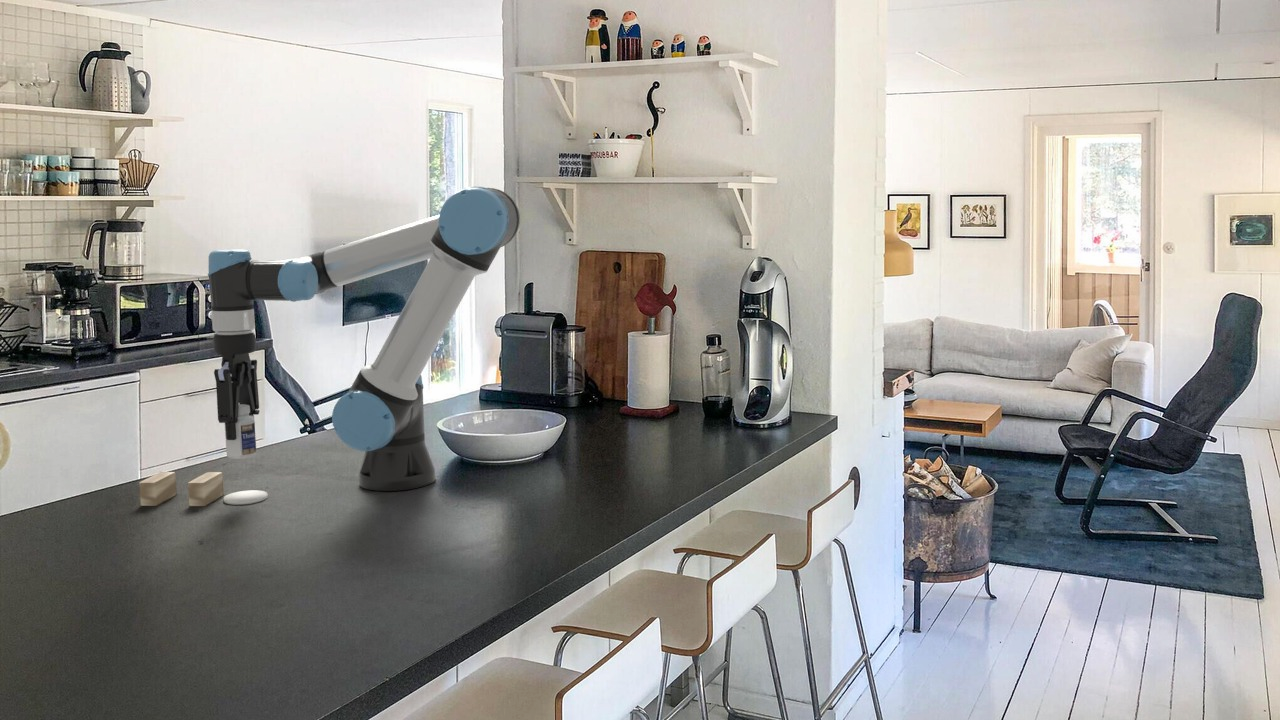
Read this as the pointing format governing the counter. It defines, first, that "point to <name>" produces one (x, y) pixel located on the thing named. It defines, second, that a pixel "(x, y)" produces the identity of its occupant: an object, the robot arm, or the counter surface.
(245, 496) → the pad
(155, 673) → the counter surface
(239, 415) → the pill bottle
